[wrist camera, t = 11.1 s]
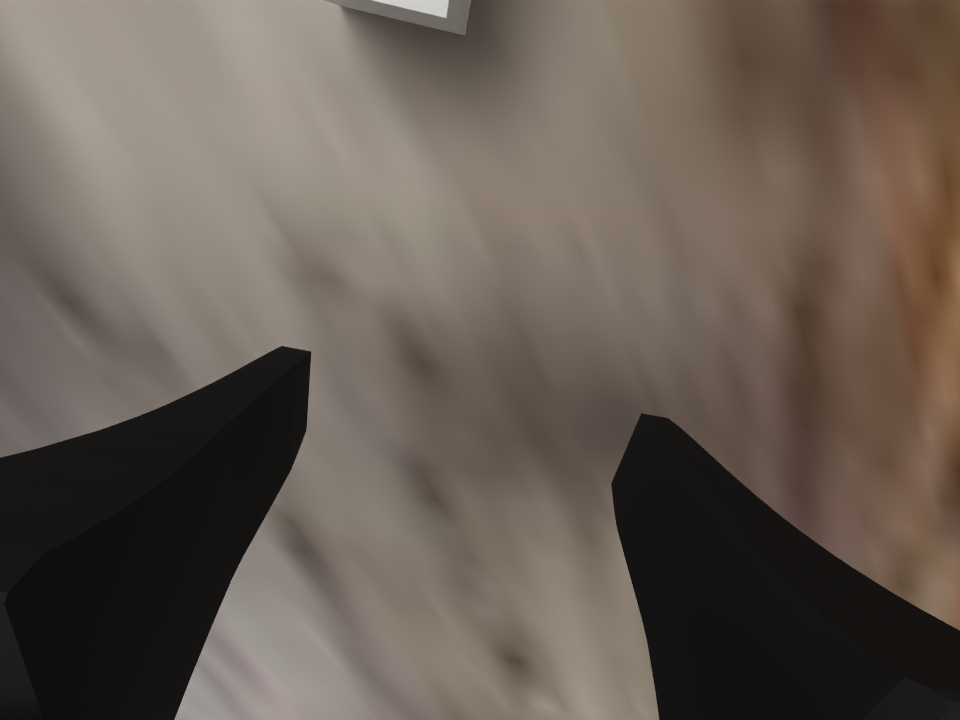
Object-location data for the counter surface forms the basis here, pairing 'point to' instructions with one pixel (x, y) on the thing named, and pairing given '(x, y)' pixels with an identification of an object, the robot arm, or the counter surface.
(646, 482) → the robot arm
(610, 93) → the counter surface
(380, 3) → the plug
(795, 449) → the counter surface
